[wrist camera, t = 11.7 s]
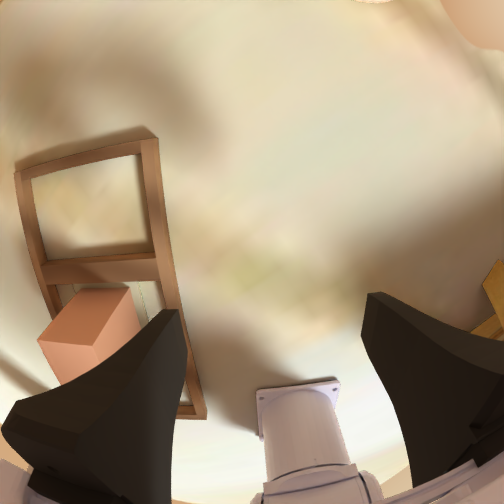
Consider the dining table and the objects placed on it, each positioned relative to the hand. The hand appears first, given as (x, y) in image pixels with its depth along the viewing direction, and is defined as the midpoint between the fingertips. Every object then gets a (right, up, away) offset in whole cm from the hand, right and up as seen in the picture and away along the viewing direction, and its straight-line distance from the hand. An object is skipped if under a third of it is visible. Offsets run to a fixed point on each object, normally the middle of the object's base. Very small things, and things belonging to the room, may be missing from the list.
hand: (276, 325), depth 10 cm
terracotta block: (-12, -2, +10) cm, 16 cm away
